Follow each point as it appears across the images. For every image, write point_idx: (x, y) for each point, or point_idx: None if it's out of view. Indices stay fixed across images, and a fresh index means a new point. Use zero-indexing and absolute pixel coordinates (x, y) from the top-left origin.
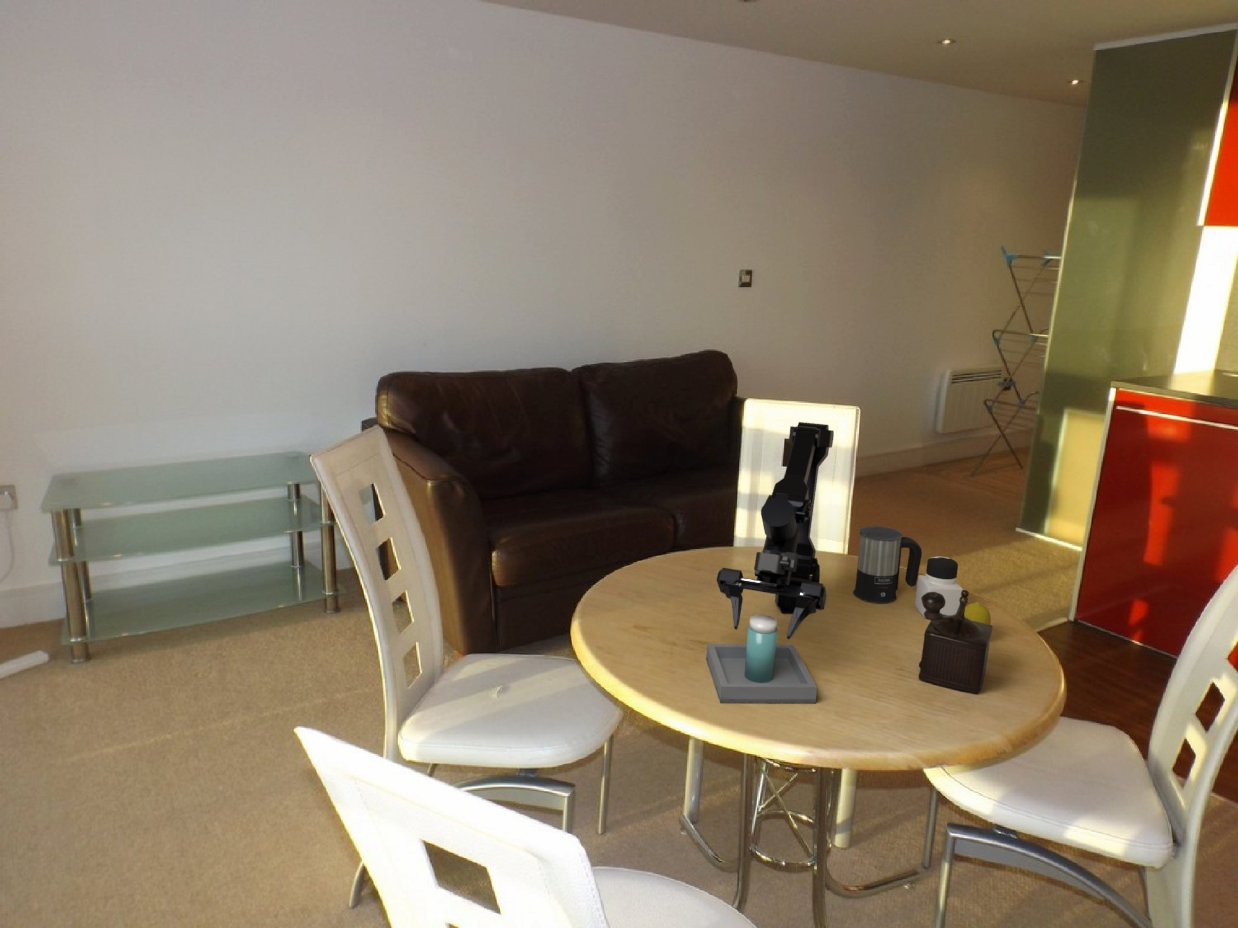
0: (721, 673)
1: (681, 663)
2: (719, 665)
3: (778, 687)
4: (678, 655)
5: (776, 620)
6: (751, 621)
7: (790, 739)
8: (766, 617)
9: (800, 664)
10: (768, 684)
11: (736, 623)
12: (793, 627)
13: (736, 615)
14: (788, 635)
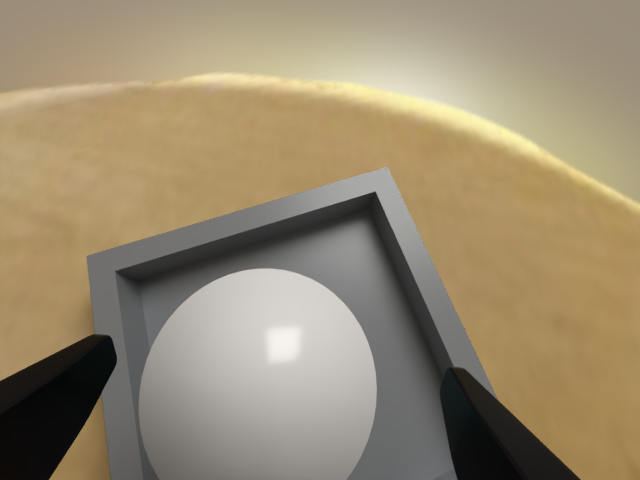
0: (408, 245)
1: (564, 398)
2: (431, 303)
3: (217, 218)
4: (604, 465)
5: (141, 423)
6: (352, 315)
7: (199, 98)
8: (234, 465)
9: (124, 430)
10: (249, 223)
11: (461, 380)
12: (15, 376)
13: (503, 433)
14: (95, 337)
